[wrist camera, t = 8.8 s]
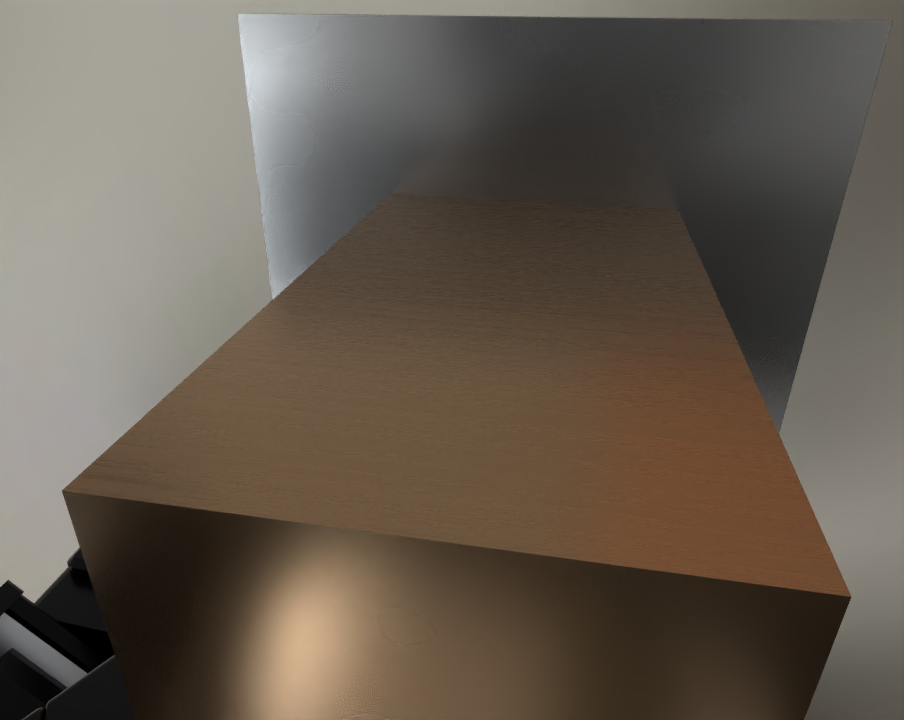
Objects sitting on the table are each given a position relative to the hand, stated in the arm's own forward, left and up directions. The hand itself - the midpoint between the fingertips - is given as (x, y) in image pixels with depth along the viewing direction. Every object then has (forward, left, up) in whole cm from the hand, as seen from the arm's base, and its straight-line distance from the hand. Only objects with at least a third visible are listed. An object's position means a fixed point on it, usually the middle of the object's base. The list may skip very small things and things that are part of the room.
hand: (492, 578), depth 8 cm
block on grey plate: (0, 0, -3) cm, 3 cm away
